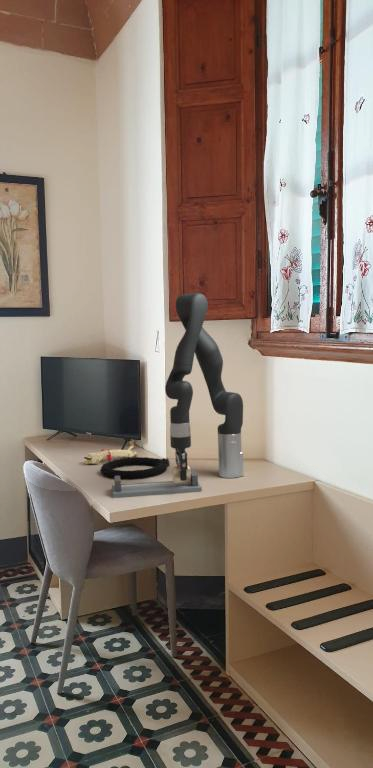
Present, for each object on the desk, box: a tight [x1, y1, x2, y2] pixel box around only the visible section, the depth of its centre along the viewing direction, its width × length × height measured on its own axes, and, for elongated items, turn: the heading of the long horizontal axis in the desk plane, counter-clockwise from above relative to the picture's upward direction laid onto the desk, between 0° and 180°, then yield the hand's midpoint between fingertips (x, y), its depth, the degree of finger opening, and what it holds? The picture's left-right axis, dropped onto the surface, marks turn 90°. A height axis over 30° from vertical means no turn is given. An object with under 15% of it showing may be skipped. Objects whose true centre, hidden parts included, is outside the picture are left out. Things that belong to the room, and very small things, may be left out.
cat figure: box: [83, 440, 138, 465], centre depth 291 cm, size 10×9×25 cm
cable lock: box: [100, 456, 171, 480], centre depth 271 cm, size 28×4×30 cm
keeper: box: [172, 465, 192, 483], centre depth 241 cm, size 6×5×7 cm
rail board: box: [111, 469, 203, 499], centre depth 240 cm, size 32×12×6 cm, turn 98°
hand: (181, 477), depth 241 cm, fingers open, 8 cm apart
